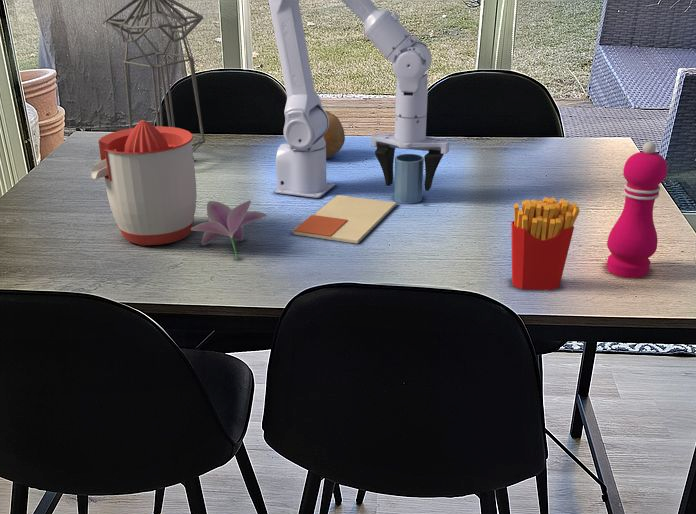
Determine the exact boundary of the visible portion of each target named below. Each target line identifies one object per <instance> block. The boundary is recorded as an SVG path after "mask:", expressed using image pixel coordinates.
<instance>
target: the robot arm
mask: <svg viewBox="0 0 696 514" xmlns="http://www.w3.org/2000/svg"><path fill="white" fill-rule="evenodd" d="M341 2H342V3H343V4H344V5H346V7H347V8H348V9H350V11H351V12H352V13H353V14H354V15H355V16H356V17H357V18H359V20H360V21H361V22H362V23H363V27H364V28H363V29H364V30H363V31H364V36H365V37H366V38H367V39H368V40H369V41H370V42H371V43H372V44H373V46H374V47H375V48H376V49H377V50H378V51H379V52H380V53H381V54H382V56H383V57H385V59H386V60H387V61H388V62H390V63H392V65H391V67H392V68H391V69H392V72H393V74H394V76H395V77H396V87H395V100H394V101H395V105H394V106H395V108H394V109H395V110H394V133H374V134H372V135H371V139H370V140H371V142H370V143H371V144H370V146H371V148H372V147H373V148H376V149H375V151H374V156H375V157H376V159H377V161H378V163H379V165H380V168H381V170H382V174H383V177H384V182H385V187H391V185H393V184H394V163H395V153H396V152H395V151H396V149H403V150H412V151H424V152H427V153H426V154H425V155H424V156H423V158H424V172H425V174H424V183H423V187H424V191H425V192H429V191H430V190H431V188H432V185H433V181H434V177H435V174H436V172H437V169H438V167H439V164H440V162H441V161H442V158H443V156H444V155H447V154H449V152H450V142H451V141H450V140H445V139H440V138H435V137H431V136H427V116H428V95H429V93H428V92H429V89H428V82H429V81H428V80H429V79H428V78H429V77H428V76H429V75H428V74H429V73H427V72H428V71H429V69H430V67H431V64H432V60H433V58H432V53H431V51H430V49H429V48H428V45H427V44H426V43H425V42H423V41H420V40H419V37H417V35H415V34H413V35H412V34H411V33H410V32H409V30H407V29H406V27H405V26H404V25H403V24H402V23H401V22H400V21H399V20H400V18H401V17H400V15H399V14H398V13H397V12H396V11H393V12H391V10H389V9H387V8H378V6H376V5H375V3H374V2H373V1H372V0H341ZM268 5H269V6H268V7H269V11H270V16H271V21H272V26H273V32H274V36H275V42H276V47H277V52H278V56H279V62H280V67H281V68H280V69H281V72H282V77H283V82H284V87H285V93H286V103H285V105H284V106H285V107H284V111H283V112H284V120H285V121H284V126H283V137H284V140H285V142H286V143H281V144H280V145H279V146H278V148H277V151H276V155H275V177H276V189H275V190H274V191H275V193H276V194H283V195H290V196H296V197H297V196H298V197H304V198H305V197H306V198H313V199H320V198H321V197H322V196H324V195H325V194H326V193H327V192H329V191H330V190H331V189H332V188H334V186H335V184H334V183H332V182H327V159H326V142H325V140H324V134H325V133H326V132H327V130H328V127H329V118H328V115H327V113H326V112H325V111H326V110H325V109H324V107H323V105H322V100H321V97H320V95H318V93H317V92H316V91H315V86H314V80H313V75H312V69H311V63H310V57H309V52H308V46H307V41H306V35H305V29H304V24H303V19H302V14H301V8H300V7H301V6H300V0H268Z"/></svg>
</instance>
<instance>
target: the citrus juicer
mask: <svg viewBox="0 0 696 514" xmlns="http://www.w3.org/2000/svg"><path fill="white" fill-rule="evenodd" d="M192 134H193V133H191V132H190V131H189V130H186V129H183V128H180V127H176V126H175V127H172V126H171V127H169V126H164V125H163V126H157V125H155V126H154V125H153V124H151V123H150V122H149V121H147V120H146V119H141V120H140V121H139V122H138V123H137V124H136V125H135V126H134V127H132V128H130V127H129V128H125V129H120V130H116V131H114V132H110V133H107V134H105V135H103V136H101V138H99V139H98V141H97V142H98V148H99V155H100V161H98V162H96V163H94V164H93V166H92V168H91V169H92V170H91V178H92V179H93V180H97V179H102V178H104V183H105V188H106V196H107V198H108V204H109V207H110V209H111V212H112V216H113V218H114V220H115V222H116V224H117V228H118V230H119V231H120V233H121V234H122V236H123V237H124V239H125V240H126V241H128V242H129V243H132V244H136V245H138V246H141V247H147V246H157V245H158V246H159V245H165V244H166V245H167V244H170V243H174V242H179V241H181V240H184V239H185V238H187V236H188V235H190V233H191V231H192V230H190V229H191V228H192V227H194V226H193V225H194V222H195V214H196V210H197V209H196V208H197V195H198V194H197V179H196V169H195V161H194V160H195V158H194V159H193V157H194V152H193V149H192V148H193V146H192V144H193V141H192V140H194V137H193V135H194V134H193V135H192Z"/></svg>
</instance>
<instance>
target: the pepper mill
mask: <svg viewBox="0 0 696 514" xmlns="http://www.w3.org/2000/svg"><path fill="white" fill-rule="evenodd" d="M656 150H657V146H656V144H655V143H654V142H653V141H647V142H645V143H644V144H643V146H642V151H637V152H636V153H633V154H632V155H630V156H629V157H628V158H627V159H626V161H625V163H624V166H623V178H624V179H625V180H626V183H624V185H623V186H624V187H623V188H624V190H623V195H624V196H625V197H624V205H623V209H622V211H621V213H620V216H619V217H618V219H617V220H616V221H615V223H614V225H613V227H612V228H611V229H610V232H609V233H608V237H607V240H606V247H607V250H608V251H609V252H610V253H611V254H609V255H608V257H607V259H606V260H607V261H606V266H605V267H606V270H607V271H608V272H609V273H610V274H612V275H615V276H617V277H620V278H628V279H637V278H643V277H645V276H647V275H648V274H649V272H650V268H651V267H650V266H651V260H650V258H651V257H652V256H653V255H654V254H655V253H656V251H657V250H658V233H657V230H656V226H655V222H654V213H653V212H654V205H655V201H656V199H657V198H659V197H660V191H661V187H660V185H661V184H662V183H663V182H664V181H665V180H666V178H667V175H668V162H667V161H666V159H665V158H664V157H663V155H661V154H660V153H658V152H656Z"/></svg>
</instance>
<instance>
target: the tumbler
mask: <svg viewBox="0 0 696 514" xmlns="http://www.w3.org/2000/svg"><path fill="white" fill-rule="evenodd" d="M424 168H425V160H424V156H422V155H420V154H417V153H416V154H415V153H401V154H398V155H396V156H394V177H393V200H394V202H396V203H399V204H405V205H412V204H413V205H414V204H417V203H420V202H422V200H423V192H424V191H423V187H424Z"/></svg>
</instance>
